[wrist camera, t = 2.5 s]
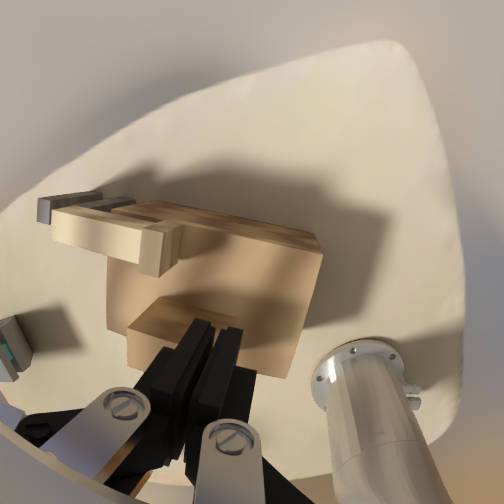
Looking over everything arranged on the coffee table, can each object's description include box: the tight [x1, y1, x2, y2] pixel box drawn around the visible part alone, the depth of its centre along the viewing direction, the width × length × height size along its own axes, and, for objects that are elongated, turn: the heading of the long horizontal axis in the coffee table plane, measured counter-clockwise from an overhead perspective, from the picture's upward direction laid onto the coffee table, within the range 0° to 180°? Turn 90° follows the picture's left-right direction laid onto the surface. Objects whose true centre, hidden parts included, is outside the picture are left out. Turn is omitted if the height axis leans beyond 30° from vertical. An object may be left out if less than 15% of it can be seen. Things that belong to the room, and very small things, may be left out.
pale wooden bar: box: [51, 206, 183, 278], centre depth 22 cm, size 11×3×4 cm, turn 78°
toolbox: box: [37, 191, 321, 251], centre depth 29 cm, size 28×12×10 cm, turn 79°
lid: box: [106, 208, 323, 379], centre depth 23 cm, size 18×12×8 cm, turn 78°
